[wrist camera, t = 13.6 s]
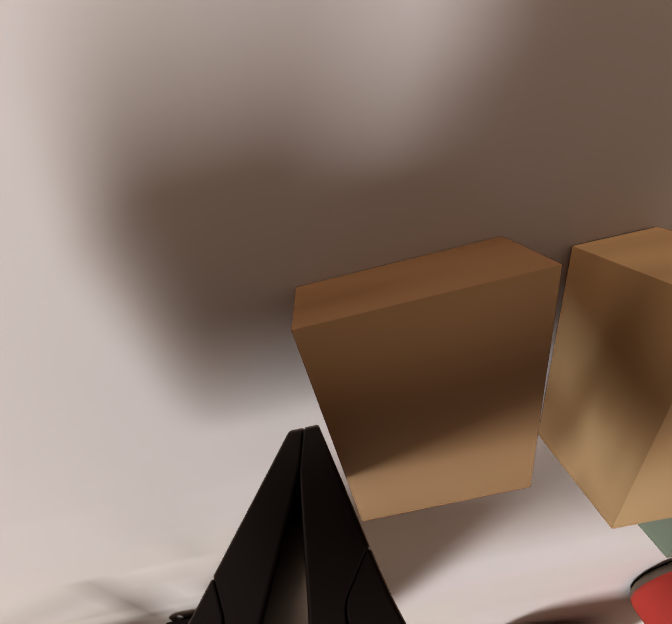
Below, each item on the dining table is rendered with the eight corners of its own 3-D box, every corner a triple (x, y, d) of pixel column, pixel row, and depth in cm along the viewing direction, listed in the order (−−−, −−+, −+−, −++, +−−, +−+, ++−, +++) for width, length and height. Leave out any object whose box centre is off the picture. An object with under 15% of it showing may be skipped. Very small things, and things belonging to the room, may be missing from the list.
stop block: (595, 422, 11) (688, 514, 8) (538, 434, 11) (612, 528, 8) (656, 227, 7) (855, 274, 5) (572, 245, 7) (719, 302, 5)
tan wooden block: (486, 418, 11) (530, 486, 9) (352, 448, 11) (362, 521, 9) (489, 230, 8) (562, 264, 5) (296, 278, 8) (291, 330, 6)
